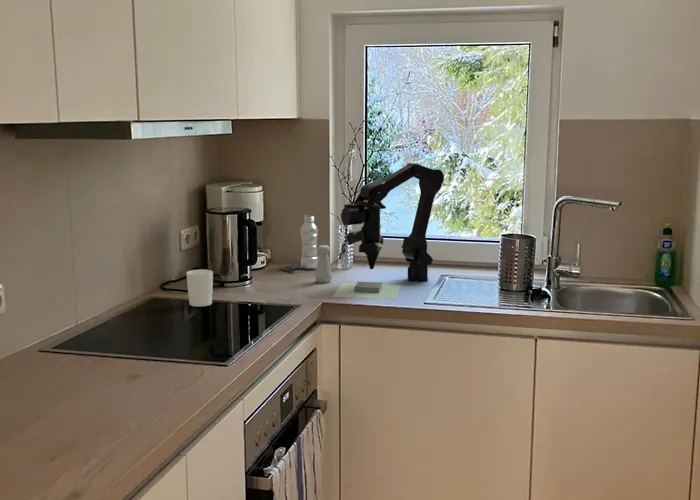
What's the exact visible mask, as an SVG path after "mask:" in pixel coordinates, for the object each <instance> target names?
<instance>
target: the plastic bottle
mask: <svg viewBox="0 0 700 500" xmlns="http://www.w3.org/2000/svg"><path fill="white" fill-rule="evenodd" d="M303 221H304V223H303V224H302V225H301V227H300V237H301V245H302V246H301V248H302V249H301V260H300V264H301V265H300V266H301V267H302V268H303V269H307V270H314V269H317V263H318V257H319V255H318V252H317V248H318V245H317V244H318V234H319V229H318V226H317V225H316V223H315V215H304V217H303Z"/></svg>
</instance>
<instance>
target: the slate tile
mask: <svg viewBox="0 0 700 500" xmlns="http://www.w3.org/2000/svg"><path fill="white" fill-rule="evenodd" d="M382 285H383V282H377V281H376V282H375V281H357V282H356V286H355V292H370V293H379V292H380V290H381V288H382Z"/></svg>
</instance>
